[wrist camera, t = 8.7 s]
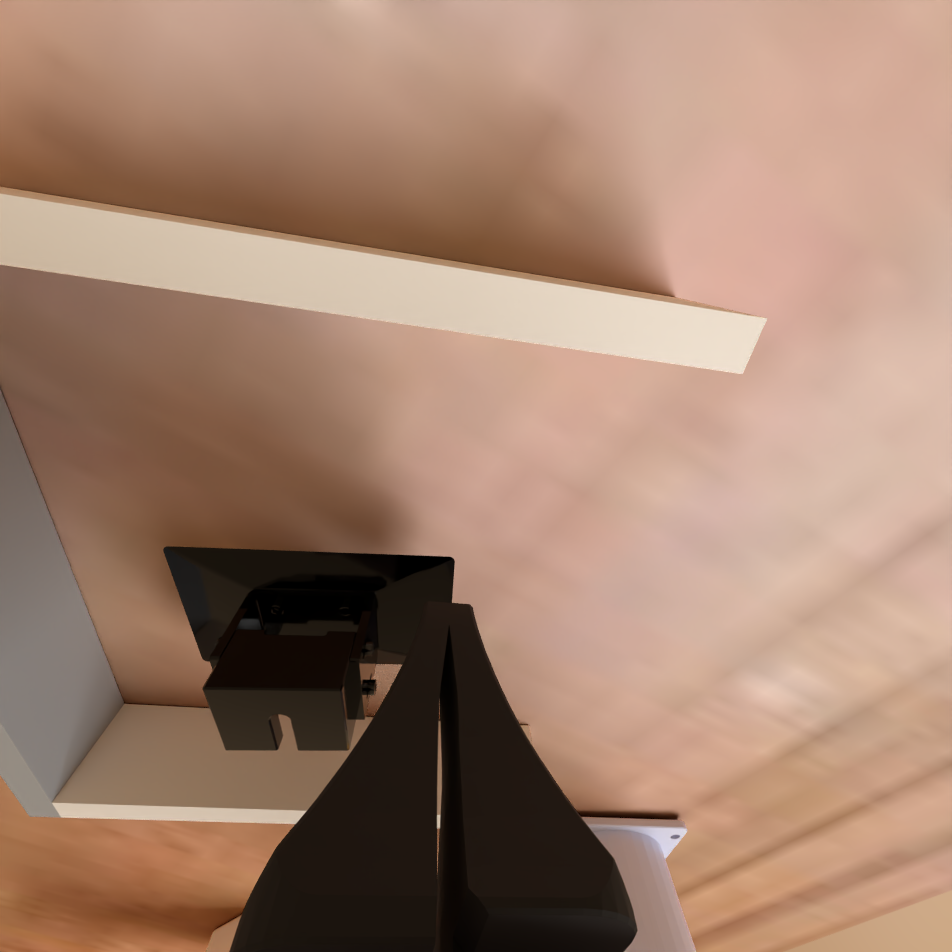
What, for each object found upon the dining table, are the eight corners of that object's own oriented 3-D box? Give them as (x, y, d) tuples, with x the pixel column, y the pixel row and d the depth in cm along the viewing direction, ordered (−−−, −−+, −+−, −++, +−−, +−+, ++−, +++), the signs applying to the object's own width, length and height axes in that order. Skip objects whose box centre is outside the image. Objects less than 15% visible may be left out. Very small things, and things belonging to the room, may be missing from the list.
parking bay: (525, 738, 19) (537, 830, 16) (104, 717, 18) (29, 816, 15) (677, 297, 11) (767, 318, 7) (-139, 163, 9) (-465, 117, 6)
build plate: (179, 658, 17) (89, 788, 13) (120, 507, 14) (-27, 618, 10) (483, 666, 18) (489, 791, 14) (500, 524, 14) (515, 634, 10)
